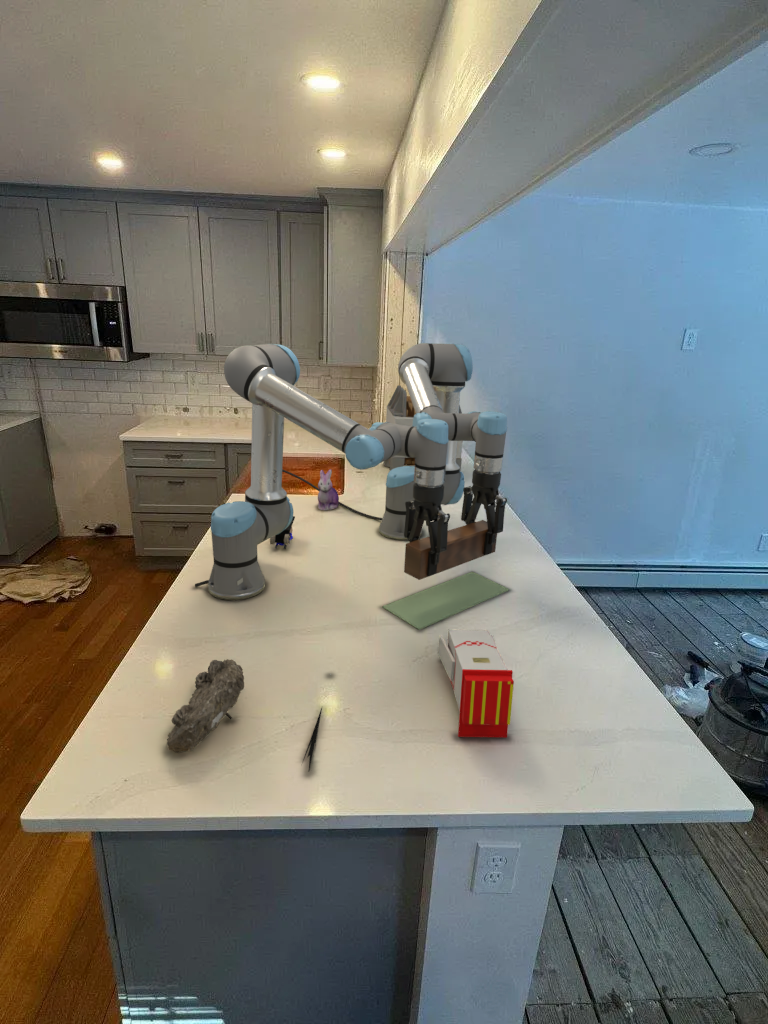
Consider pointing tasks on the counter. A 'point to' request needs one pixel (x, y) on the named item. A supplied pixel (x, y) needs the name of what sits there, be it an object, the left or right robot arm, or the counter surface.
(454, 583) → the mat
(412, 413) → the grey slatted box
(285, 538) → the figurine character
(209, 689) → the fossil
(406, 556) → the walnut box
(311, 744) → the feather
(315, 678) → the counter surface
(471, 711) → the toy
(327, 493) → the figurine
